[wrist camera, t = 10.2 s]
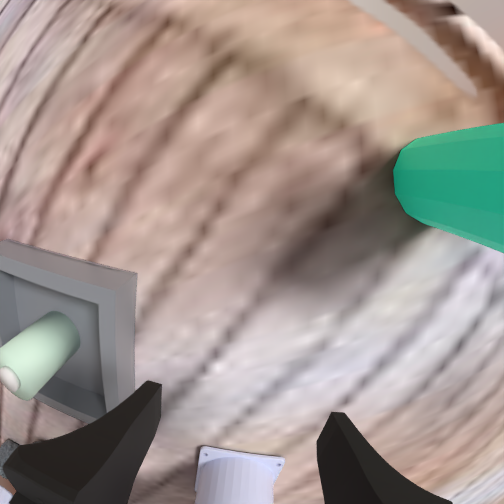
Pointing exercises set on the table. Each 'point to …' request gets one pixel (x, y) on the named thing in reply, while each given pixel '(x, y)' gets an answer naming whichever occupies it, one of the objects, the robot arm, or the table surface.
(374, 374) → the table surface
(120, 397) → the bin
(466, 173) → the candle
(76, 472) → the robot arm
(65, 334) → the cylinder
